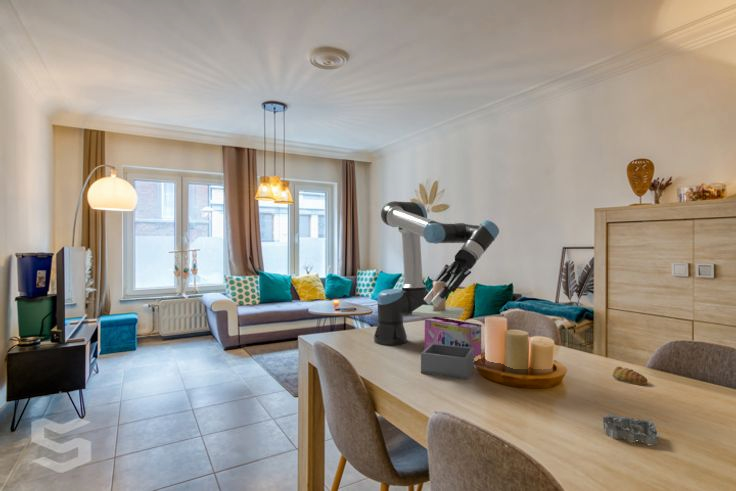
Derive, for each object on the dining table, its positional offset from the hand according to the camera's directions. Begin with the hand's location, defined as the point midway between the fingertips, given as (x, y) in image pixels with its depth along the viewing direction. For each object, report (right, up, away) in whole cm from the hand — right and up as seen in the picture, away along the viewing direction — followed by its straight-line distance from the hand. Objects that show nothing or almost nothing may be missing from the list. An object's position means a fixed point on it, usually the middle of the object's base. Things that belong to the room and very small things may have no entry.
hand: (430, 302), depth 139 cm
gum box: (+12, -24, +19) cm, 33 cm away
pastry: (+64, -25, -9) cm, 70 cm away
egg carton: (+40, -25, -45) cm, 66 cm away
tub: (+7, -24, +1) cm, 25 cm away
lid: (+3, -4, +2) cm, 5 cm away
